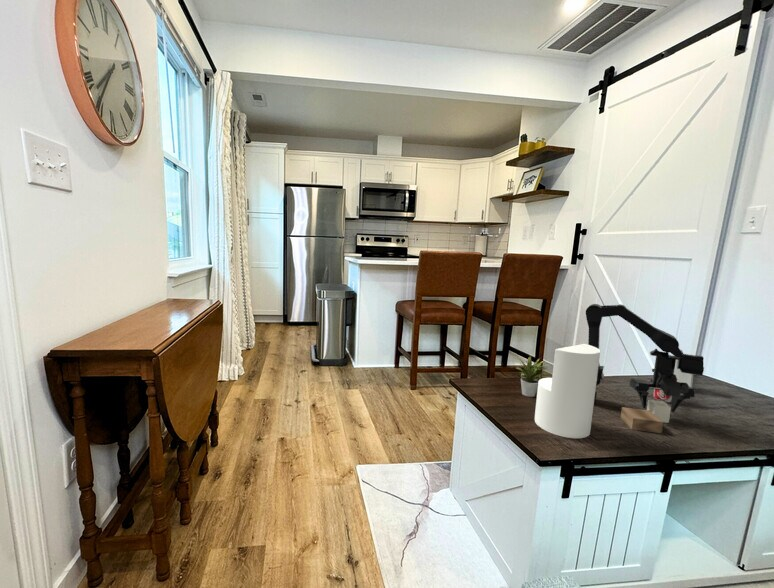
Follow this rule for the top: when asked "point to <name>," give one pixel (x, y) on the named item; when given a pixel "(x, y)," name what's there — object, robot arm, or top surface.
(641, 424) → the tan square slab
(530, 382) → the house plant
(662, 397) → the soda can
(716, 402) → the top surface
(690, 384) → the skincare box
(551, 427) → the white stepped curved block
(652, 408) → the cream cube
